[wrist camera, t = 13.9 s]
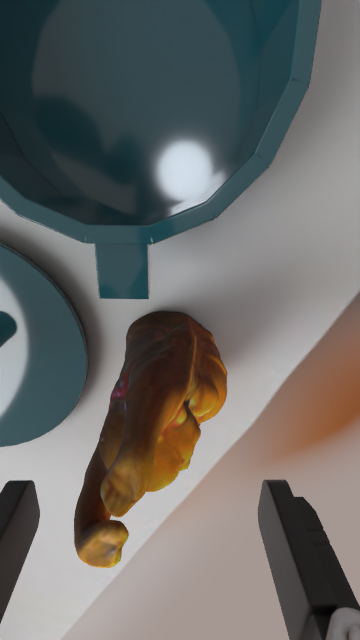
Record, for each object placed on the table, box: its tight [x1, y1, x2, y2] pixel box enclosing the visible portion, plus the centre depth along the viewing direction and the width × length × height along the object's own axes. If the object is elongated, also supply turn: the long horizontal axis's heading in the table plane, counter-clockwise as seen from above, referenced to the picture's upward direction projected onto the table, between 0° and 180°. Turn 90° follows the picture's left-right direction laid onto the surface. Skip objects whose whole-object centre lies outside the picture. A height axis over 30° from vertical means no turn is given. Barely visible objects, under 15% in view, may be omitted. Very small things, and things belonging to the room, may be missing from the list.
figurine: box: [74, 311, 227, 568], centre depth 15 cm, size 6×7×13 cm
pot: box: [0, 0, 322, 299], centre depth 13 cm, size 15×20×5 cm
